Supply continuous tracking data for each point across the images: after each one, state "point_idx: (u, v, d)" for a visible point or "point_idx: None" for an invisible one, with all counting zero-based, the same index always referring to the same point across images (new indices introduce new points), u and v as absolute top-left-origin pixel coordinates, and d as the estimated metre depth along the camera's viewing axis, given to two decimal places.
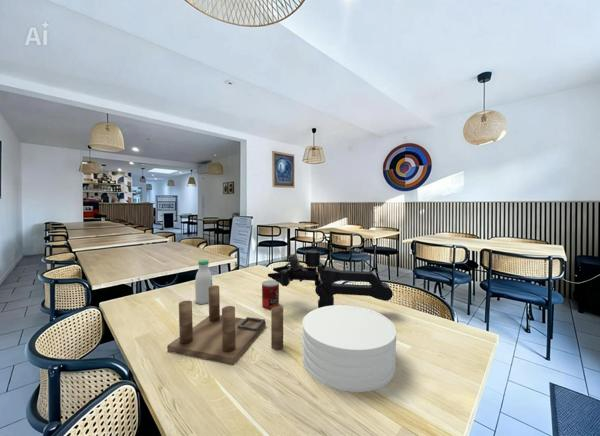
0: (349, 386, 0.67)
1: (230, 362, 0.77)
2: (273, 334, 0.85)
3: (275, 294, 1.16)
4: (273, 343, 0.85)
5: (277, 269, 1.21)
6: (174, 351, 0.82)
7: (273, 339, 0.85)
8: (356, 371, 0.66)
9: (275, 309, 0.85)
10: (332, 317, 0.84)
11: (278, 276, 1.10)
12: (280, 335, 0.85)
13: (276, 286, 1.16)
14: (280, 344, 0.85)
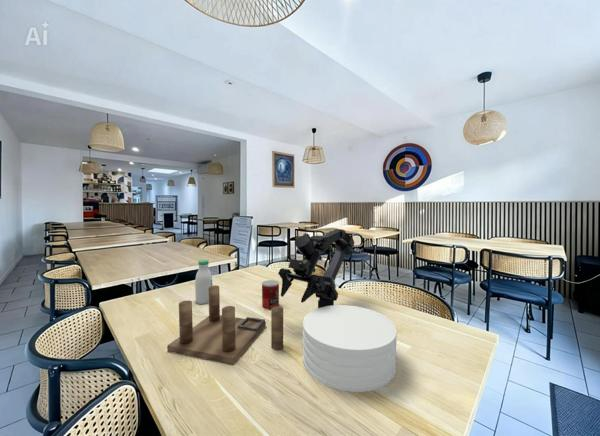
0: (349, 386, 0.67)
1: (230, 362, 0.77)
2: (273, 335, 0.85)
3: (275, 294, 1.16)
4: (273, 343, 0.85)
5: (284, 291, 0.96)
6: (174, 351, 0.82)
7: (273, 339, 0.85)
8: (356, 371, 0.66)
9: (275, 309, 0.85)
10: (333, 317, 0.84)
11: (310, 290, 0.92)
12: (280, 335, 0.85)
13: (276, 286, 1.16)
14: (280, 344, 0.85)
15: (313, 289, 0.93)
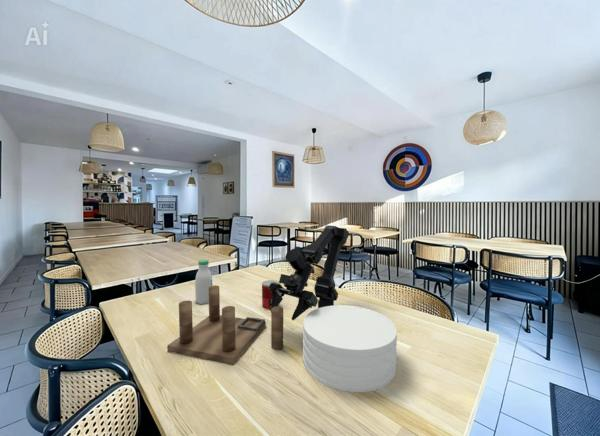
0: (350, 386, 0.67)
1: (230, 362, 0.77)
2: (273, 334, 0.85)
3: None
4: (273, 343, 0.85)
5: None
6: (174, 351, 0.82)
7: (273, 339, 0.85)
8: (357, 371, 0.66)
9: (275, 309, 0.85)
10: (333, 317, 0.84)
11: (301, 306, 0.87)
12: (280, 335, 0.85)
13: None
14: (280, 344, 0.85)
15: (304, 306, 0.88)
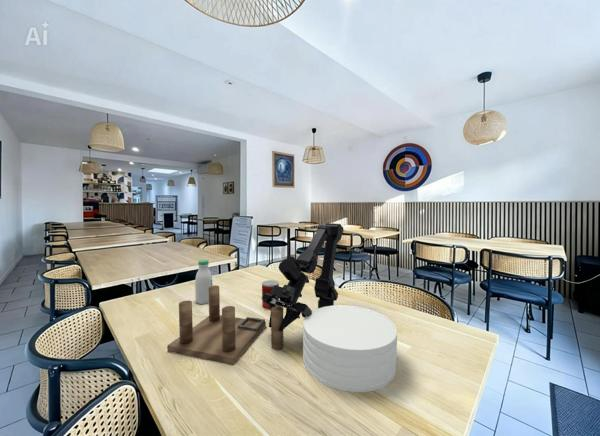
0: (350, 386, 0.67)
1: (230, 362, 0.77)
2: (273, 334, 0.85)
3: None
4: (273, 343, 0.85)
5: None
6: (174, 351, 0.82)
7: (273, 339, 0.85)
8: (357, 371, 0.66)
9: (275, 309, 0.85)
10: (333, 317, 0.84)
11: (289, 317, 0.86)
12: (280, 335, 0.85)
13: None
14: (280, 344, 0.85)
15: (292, 316, 0.87)
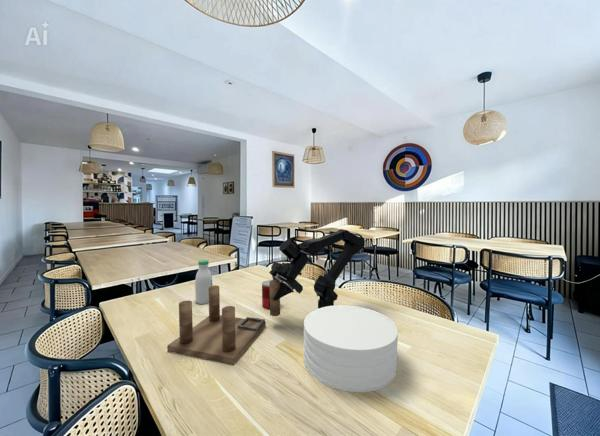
0: (350, 386, 0.67)
1: (230, 362, 0.77)
2: (270, 302, 0.99)
3: None
4: (270, 310, 0.99)
5: None
6: (174, 351, 0.82)
7: (270, 306, 0.99)
8: (358, 371, 0.66)
9: (272, 281, 0.99)
10: (334, 317, 0.84)
11: (283, 290, 0.98)
12: (275, 304, 0.98)
13: None
14: (276, 312, 0.98)
15: (287, 289, 0.98)
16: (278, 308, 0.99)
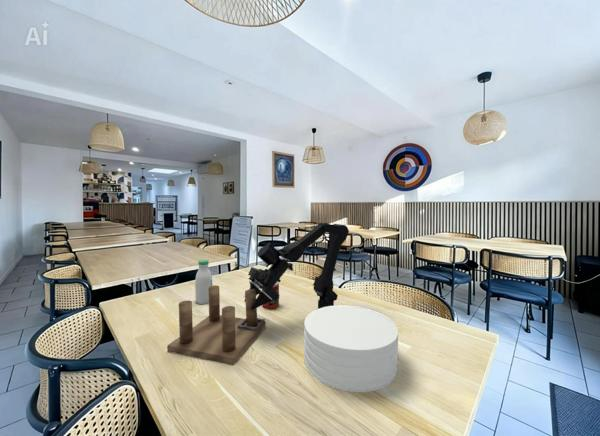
0: (351, 386, 0.67)
1: (230, 362, 0.77)
2: (246, 313, 0.96)
3: None
4: None
5: None
6: (174, 351, 0.82)
7: (246, 317, 0.96)
8: (358, 371, 0.66)
9: (248, 291, 0.96)
10: (334, 317, 0.84)
11: (261, 299, 0.93)
12: (251, 315, 0.95)
13: (276, 286, 1.16)
14: (252, 323, 0.95)
15: (266, 298, 0.93)
16: (254, 319, 0.95)
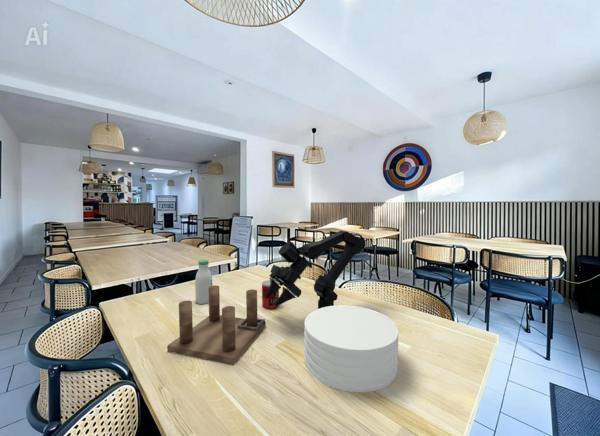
0: (351, 386, 0.67)
1: (230, 362, 0.77)
2: None
3: (275, 294, 1.16)
4: None
5: (269, 293, 1.05)
6: (174, 351, 0.82)
7: (247, 317, 0.96)
8: (358, 371, 0.66)
9: (249, 291, 0.96)
10: (334, 317, 0.84)
11: (285, 295, 0.97)
12: (252, 315, 0.95)
13: None
14: (252, 323, 0.95)
15: (289, 295, 0.97)
16: (255, 319, 0.96)
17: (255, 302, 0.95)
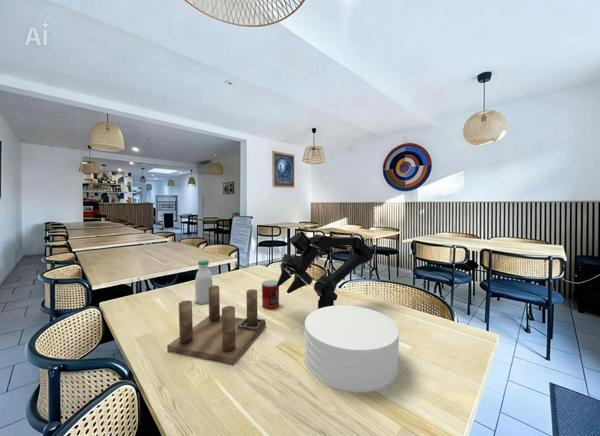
0: (352, 386, 0.66)
1: (230, 362, 0.77)
2: None
3: (275, 294, 1.16)
4: (247, 321, 0.96)
5: (280, 281, 1.07)
6: (174, 351, 0.82)
7: (247, 317, 0.96)
8: (359, 371, 0.66)
9: (250, 291, 0.96)
10: (335, 317, 0.84)
11: (297, 283, 0.99)
12: (252, 315, 0.95)
13: (276, 286, 1.16)
14: (252, 323, 0.95)
15: (300, 283, 1.00)
16: (255, 319, 0.96)
17: (255, 302, 0.95)
